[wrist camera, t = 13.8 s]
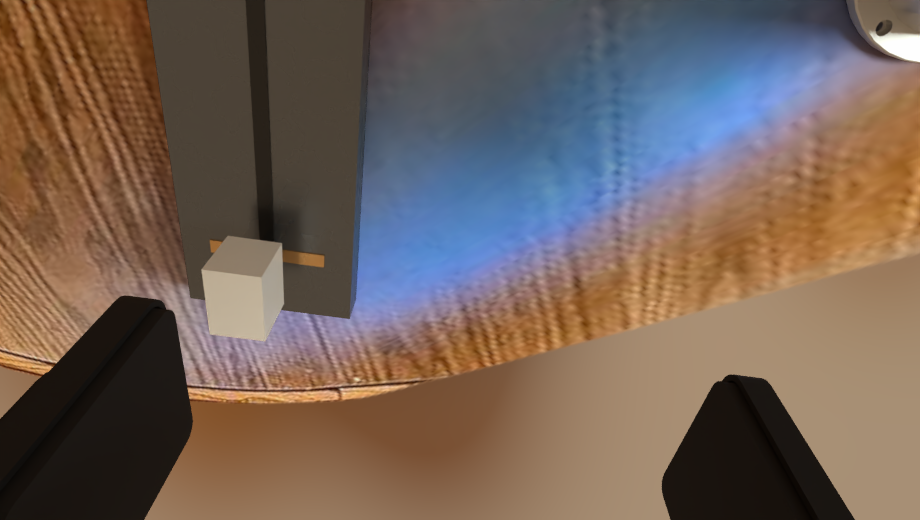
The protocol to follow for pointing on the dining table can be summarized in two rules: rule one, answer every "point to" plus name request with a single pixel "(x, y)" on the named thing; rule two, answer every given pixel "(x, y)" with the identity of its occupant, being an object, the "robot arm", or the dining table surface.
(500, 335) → the dining table surface
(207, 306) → the fader knob
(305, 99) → the fader console
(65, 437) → the robot arm
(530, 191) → the dining table surface
